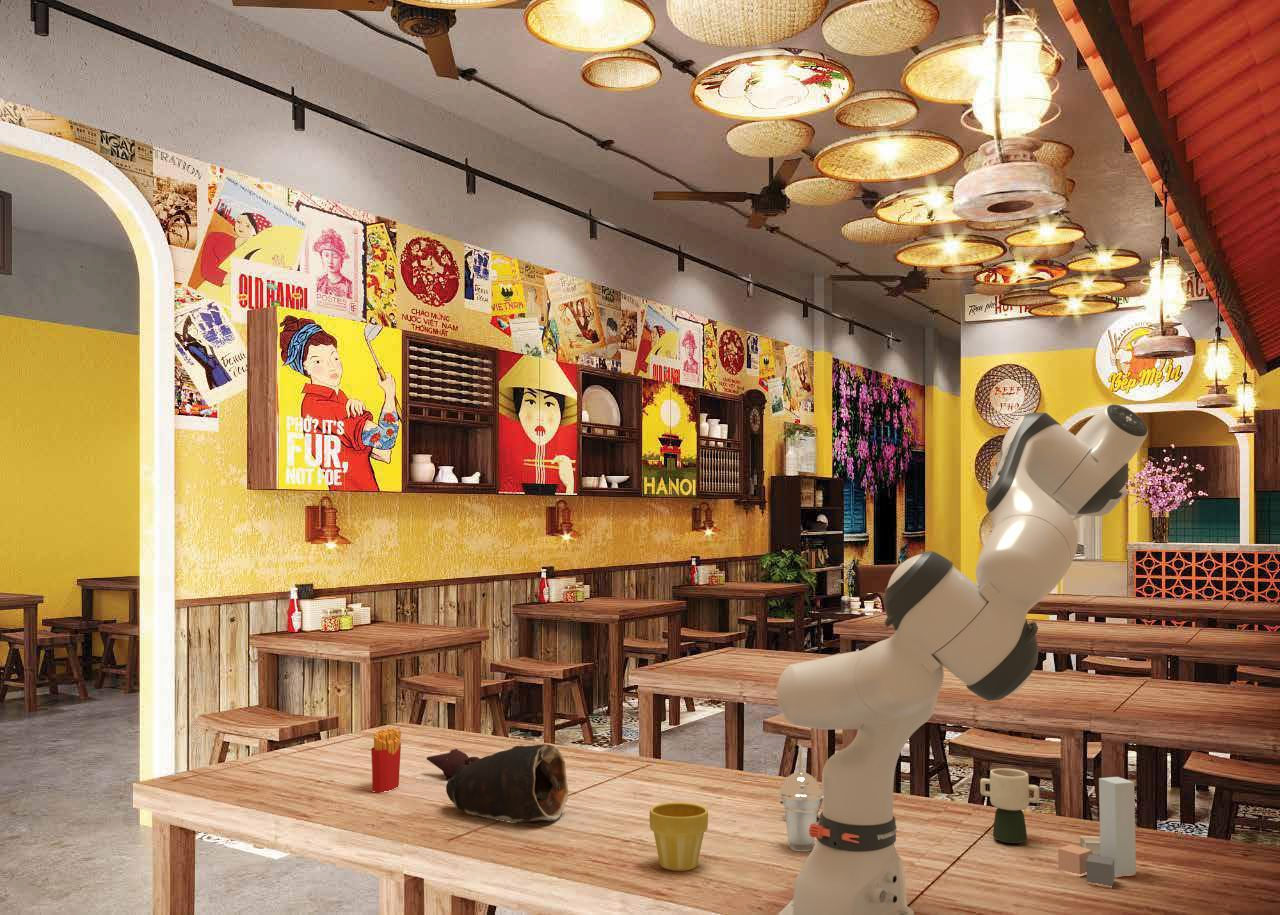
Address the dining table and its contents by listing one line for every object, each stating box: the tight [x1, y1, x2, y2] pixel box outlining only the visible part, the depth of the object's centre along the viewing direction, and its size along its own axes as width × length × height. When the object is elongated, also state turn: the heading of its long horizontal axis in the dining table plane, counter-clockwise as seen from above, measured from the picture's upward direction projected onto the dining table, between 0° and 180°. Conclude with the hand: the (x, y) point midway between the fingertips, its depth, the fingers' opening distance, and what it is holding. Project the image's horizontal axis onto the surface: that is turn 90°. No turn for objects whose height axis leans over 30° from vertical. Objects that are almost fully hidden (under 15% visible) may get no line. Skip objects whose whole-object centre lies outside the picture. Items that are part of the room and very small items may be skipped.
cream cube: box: [1079, 835, 1100, 856], centre depth 192 cm, size 4×4×4 cm
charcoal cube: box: [1086, 854, 1115, 887], centre depth 181 cm, size 4×4×4 cm
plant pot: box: [649, 801, 709, 872], centre depth 189 cm, size 10×10×10 cm
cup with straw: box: [777, 743, 823, 853], centre depth 199 cm, size 8×9×20 cm
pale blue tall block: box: [1098, 776, 1137, 876], centre depth 186 cm, size 4×4×16 cm
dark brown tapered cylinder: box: [445, 743, 569, 823], centre depth 220 cm, size 15×15×25 cm
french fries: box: [370, 727, 402, 793], centre depth 240 cm, size 9×4×13 cm, turn 160°
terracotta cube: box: [1057, 843, 1092, 874], centre depth 186 cm, size 4×4×4 cm
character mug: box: [980, 768, 1040, 844], centre depth 204 cm, size 11×7×13 cm, turn 58°
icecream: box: [426, 748, 481, 779], centre depth 250 cm, size 7×7×15 cm
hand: (1036, 521), depth 188 cm, fingers open, 8 cm apart
